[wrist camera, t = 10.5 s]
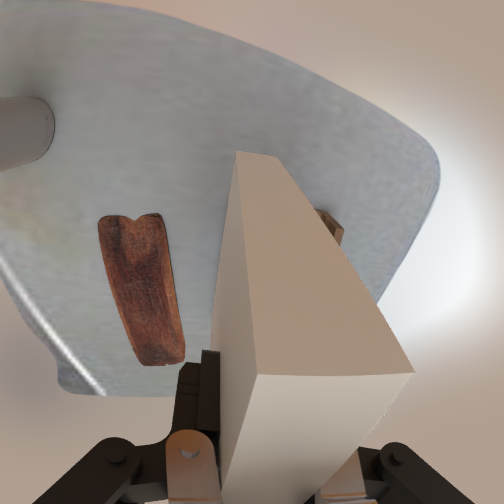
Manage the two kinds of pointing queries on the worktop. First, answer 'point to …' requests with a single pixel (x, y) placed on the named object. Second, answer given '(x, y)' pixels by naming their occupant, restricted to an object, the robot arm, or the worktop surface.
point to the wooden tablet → (143, 286)
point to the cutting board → (292, 344)
